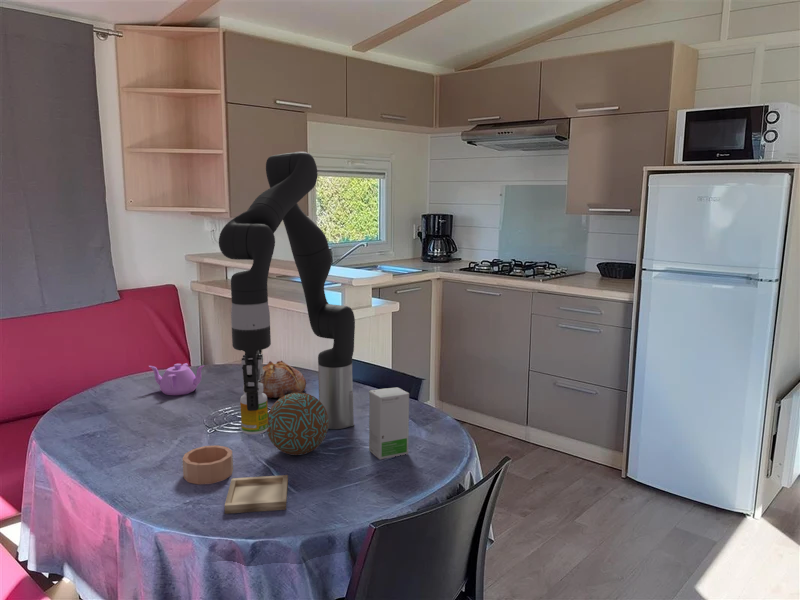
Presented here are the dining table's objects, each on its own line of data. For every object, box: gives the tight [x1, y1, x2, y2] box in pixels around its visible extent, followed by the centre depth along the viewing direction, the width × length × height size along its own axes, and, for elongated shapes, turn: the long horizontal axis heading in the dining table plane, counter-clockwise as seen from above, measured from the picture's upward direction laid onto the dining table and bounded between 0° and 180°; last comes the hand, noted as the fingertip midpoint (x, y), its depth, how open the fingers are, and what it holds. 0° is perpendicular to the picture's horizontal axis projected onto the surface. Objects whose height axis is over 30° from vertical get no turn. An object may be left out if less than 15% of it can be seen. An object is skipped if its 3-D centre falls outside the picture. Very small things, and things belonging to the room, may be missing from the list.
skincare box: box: [368, 387, 410, 460], centre depth 153 cm, size 8×7×16 cm
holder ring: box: [182, 444, 234, 485], centre depth 142 cm, size 10×10×4 cm
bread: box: [260, 360, 307, 399], centre depth 200 cm, size 16×20×10 cm
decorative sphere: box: [266, 392, 329, 456], centre depth 153 cm, size 15×15×15 cm
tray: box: [224, 474, 289, 515], centre depth 131 cm, size 12×12×2 cm
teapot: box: [148, 362, 205, 396], centre depth 200 cm, size 12×14×9 cm
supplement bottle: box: [239, 382, 269, 435], centre depth 128 cm, size 5×5×10 cm
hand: (254, 404), depth 128 cm, fingers closed on supplement bottle, 5 cm apart
